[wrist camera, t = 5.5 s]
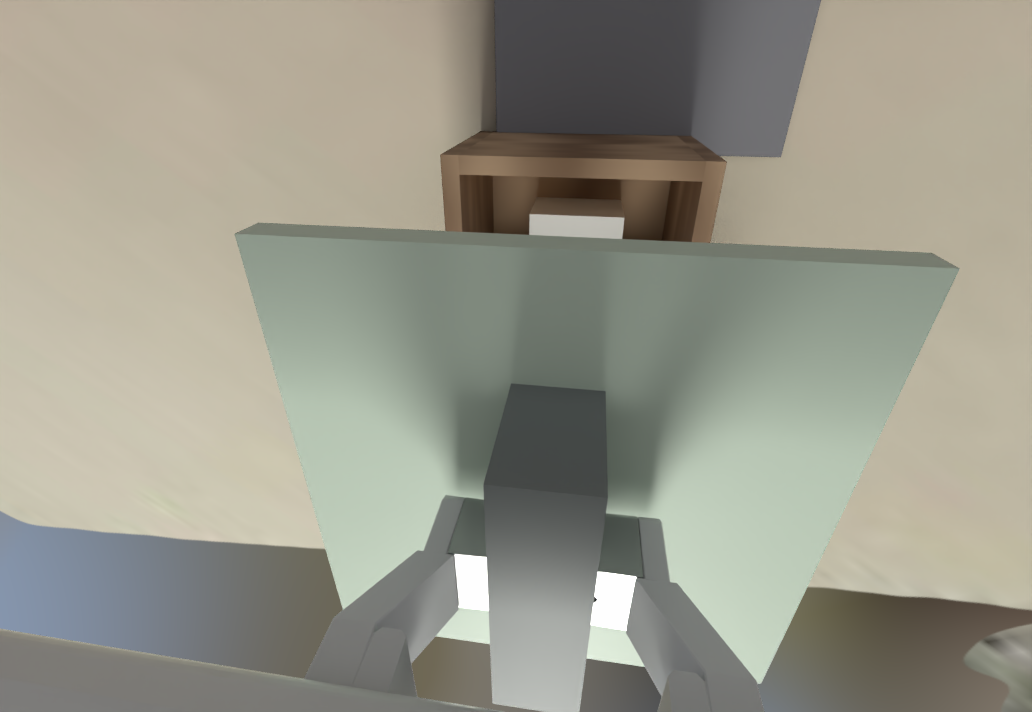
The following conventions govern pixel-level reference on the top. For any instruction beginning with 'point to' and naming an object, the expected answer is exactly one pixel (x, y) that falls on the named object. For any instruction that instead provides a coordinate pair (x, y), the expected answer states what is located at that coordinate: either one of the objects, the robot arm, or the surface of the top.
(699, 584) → the lid
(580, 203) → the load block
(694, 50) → the dark grey flat plate
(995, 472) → the top surface
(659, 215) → the crate
